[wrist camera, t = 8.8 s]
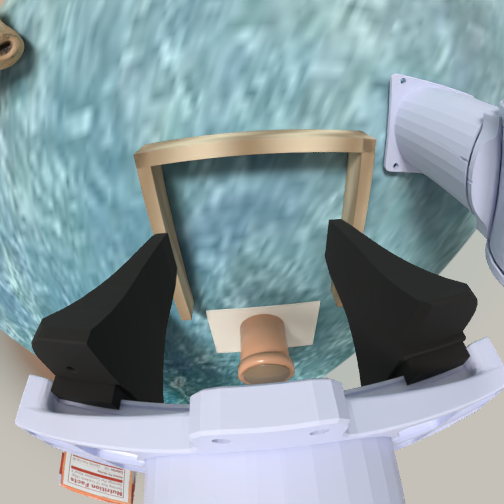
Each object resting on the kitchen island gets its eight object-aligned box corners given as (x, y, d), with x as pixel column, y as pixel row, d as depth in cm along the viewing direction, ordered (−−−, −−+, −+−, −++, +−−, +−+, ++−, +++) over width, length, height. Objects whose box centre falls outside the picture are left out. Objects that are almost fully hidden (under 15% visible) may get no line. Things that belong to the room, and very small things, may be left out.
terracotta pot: (277, 306, 28) (285, 356, 23) (293, 334, 31) (301, 379, 27) (228, 321, 29) (228, 370, 24) (249, 346, 33) (251, 391, 28)
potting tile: (319, 300, 29) (320, 301, 28) (312, 343, 33) (312, 344, 33) (206, 310, 28) (205, 311, 28) (217, 351, 33) (217, 352, 33)
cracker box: (150, 364, 35) (133, 504, 18) (109, 352, 33) (83, 490, 17) (163, 302, 28) (135, 510, 11) (109, 286, 26) (53, 486, 9)
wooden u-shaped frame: (361, 131, 18) (375, 139, 16) (339, 288, 28) (346, 305, 26) (144, 144, 18) (133, 154, 16) (184, 301, 28) (181, 320, 26)
